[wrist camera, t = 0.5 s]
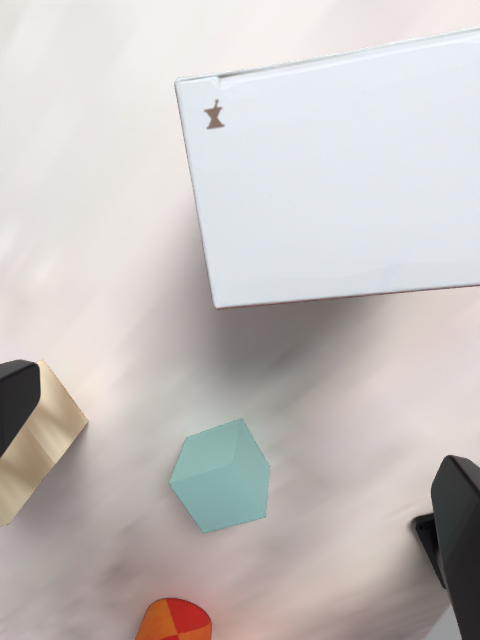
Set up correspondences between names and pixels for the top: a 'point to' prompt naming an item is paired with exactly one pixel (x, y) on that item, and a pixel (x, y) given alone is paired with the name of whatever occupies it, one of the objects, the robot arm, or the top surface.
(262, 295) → the small box
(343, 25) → the top surface
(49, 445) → the birch lower block
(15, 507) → the birch upper block
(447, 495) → the robot arm
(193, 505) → the teal cube
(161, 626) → the paper cup
